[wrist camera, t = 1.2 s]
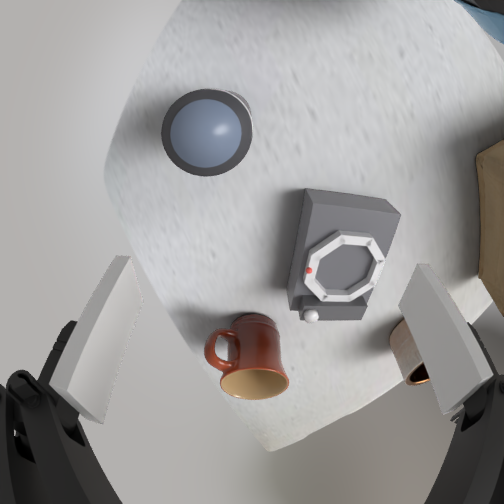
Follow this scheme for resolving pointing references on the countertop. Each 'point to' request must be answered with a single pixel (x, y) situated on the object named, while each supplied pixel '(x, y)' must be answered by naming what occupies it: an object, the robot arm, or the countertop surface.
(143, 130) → the countertop surface
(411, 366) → the planter
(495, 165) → the paper package
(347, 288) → the camera body
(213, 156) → the lens
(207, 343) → the mug
